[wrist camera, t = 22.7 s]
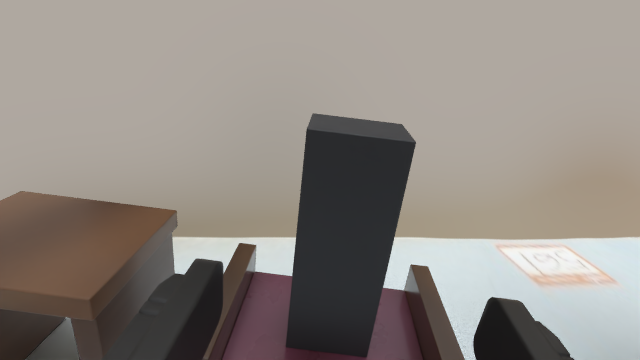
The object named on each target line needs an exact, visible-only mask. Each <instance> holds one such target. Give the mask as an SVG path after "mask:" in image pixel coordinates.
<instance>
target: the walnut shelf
mask: <svg viewBox="0 0 640 360" xmlns="http://www.w3.org/2000/svg"><path fill="white" fill-rule="evenodd" d="M176 227H177V211H175V210H168V209H160V208H152V207H144V206H136V205H128V204H120V203H112V202H104V201H97V200H89V199H81V198H73V197H64V196H57V195H49V194H41V193H33V192H25V191H20V192H18V193H16V194H14V195H12V196H10V197H7V198H5V199H3V200H1V201H0V360H24V359H25V358H26V357H27V356H28V355H29V354H30V353H31V352H32V351H33V350H34V349H35V348H36V347H37V346H38V345H39V344H40V343H41V342H42V341H43V340H44V339H45V338H46V337H47V336H48V335H49V334H50V333H51V332H52V331H53V330H54V329H55V328H56V327H57V326H58V325H59V324H60V323H61V322H62V321H63V320H64V319H65V317H67V318H71V323H72V327H73V332H74V336H75V340H76V345H77V349H78V354H79V358H80V360H102V358H103V357H104V356H105V354H106V353H107V352H108V350H109V349H110V348H111V346H112V345H113V344H114V343H115V341H116V340H117V339H118V337H119V336H120V335H121V333H122V332H123V331H124V329H125V328H126V327H127V325H128V324H129V323H130V322H131V320H132V319H133V318H134V316H135V315H136V314H137V313H139V310H140V308H141V307H142V306H143V304H144V303H145V302H146V301H148V298H149V297H150V295H151V294H152V293H153V291H154V290H155V289H156V287H157V286H158V285H159V284H160V283H162V282H163V281H165V280H166V279H167V278H169V277H170V276H172V275H173V274H175V272H174V257H173V242H172V232H173V230H175V229H176Z"/></svg>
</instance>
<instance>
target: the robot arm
mask: <svg viewBox="0 0 640 360" xmlns="http://www.w3.org/2000/svg"><path fill="white" fill-rule="evenodd" d="M222 308H223V263H222V262H221V261H213V260H206V259H195V260H194V262H193V263H192V265H191V266H190V268H189V269H188V270H187V272H186V273H185V275H182V274H173V275H172V276H170V277H169V278H167V279H166V280H165V281H163V282H162V283H160V284H159V285H158V286H157V287H156V289H155V290H154V291H153V293H152V294H151V295H150V297H149V298H148V301H146V302H145V303H144V304H143V306H142V307H141V308H140V310H139V313H137V314H136V315H135V316H134V318H133V319H132V320H131V322H130V323H129V324H128V325H127V327H126V328H125V329H124V331H123V332H122V333H121V335H120V336H119V337H118V339H117V340H116V341H115V343H114V344H113V345H112V346H111V348H110V349H109V350H108V352H107V353H106V354H105V356H104V357H103V358H102V360H203V357H204V355H205V353H206V350H207V348H208V346H209V344H210V341H211V339H212V337H213V335H214V332H215V330H216V328H217V325H218V323H219V320H220V317H221V313H222ZM473 346H474V353H475V357H476V360H574V359H573V358H571V357H570V354H569V352H568V351H567V349H566V348H565V347H564V345H563V344H562V343H561V341H560V340H559V339H558V337H557V336H555V335H554V334H553V333H552V332H551V331H550V330H548V329H547V328H546V327H545V326H544V325H543V324H541V323H540V322H539V321H535V320H534V318H533V317H532V316H531V314H530V313H529V311H528V310H527V309H526V307H525V306H524V304H523V303H522V302H520V301H518V300H510V299H502V298H495V297H492V298H490V299H489V300H488V302H487V304H486V306H485V309H484V312H483V314H482V317H481V319H480V322H479V325H478V327H477V330H476V332H475V335H474V341H473Z"/></svg>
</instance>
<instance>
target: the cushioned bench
mask: <svg viewBox="0 0 640 360" xmlns="http://www.w3.org/2000/svg"><path fill="white" fill-rule="evenodd" d="M255 263H256V245H252V244H244V243H239V245H238V247H237V249H236V251H235V253H234V255H233V257H232V259H231V261H230V263H229V265H228V266H227V268H226V270H225V272H224V274H223V308H222V313H221V317H220V320H219V323H218V325H217V328H216V330H215V332H214V335H213V337H212V339H211V341H210V344H209V346H208V348H207V350H206V353H205V355H204V357H203V360H465V359H464V357H463V354H462V352H461V349H460V347H459V344H458V342H457V339H456V337H455V334H454V331H453V329H452V326H451V324H450V321H449V319H448V316H447V314H446V311H445V309H444V306H443V304H442V301H441V299H440V296H439V294H438V291H437V288H436V286H435V283H434V281H433V278H432V276H431V273H430V271H429V268H428V267H427V266H419V265H411V266H410V269H409V273H408V277H407V281H406V285H405V289H404V291H403V290H396V289H388V288H383V289H382V294H381V298H380V302H379V307H378V311H377V316H376V320H375V324H374V329H373V333H372V337H371V342H370V346H369V351H368V355H367V357H359V356H351V355H343V354H335V353H327V352H320V351H312V350H304V349H296V348H288V347H286V337H287V327H288V316H289V306H290V296H291V286H292V276H285V275H277V274H270V273H262V272H255Z"/></svg>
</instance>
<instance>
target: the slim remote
mask: <svg viewBox="0 0 640 360" xmlns="http://www.w3.org/2000/svg"><path fill="white" fill-rule="evenodd" d="M415 144H416V142H415V140H414V139H413V138H412V137H411V135H410V134H409V133H408V131H407V130H406V129H405V128H404V126H403V125H402V124H395V123H387V122H379V121H370V120H362V119H354V118H346V117H338V116H329V115H321V114H312V117H311V120H310V122H309V125H308V127H307V132H306V142H305V152H304V163H303V174H302V184H301V194H300V203H299V214H298V224H297V234H296V245H295V255H294V265H293V275H292V286H291V296H290V306H289V316H288V327H287V337H286V347H288V348H296V349H304V350H312V351H320V352H327V353H335V354H343V355H351V356H359V357H367V355H368V351H369V346H370V342H371V337H372V333H373V329H374V324H375V320H376V316H377V311H378V307H379V302H380V298H381V294H382V289H383V285H384V280H385V276H386V272H387V267H388V263H389V259H390V254H391V250H392V245H393V241H394V237H395V232H396V228H397V223H398V219H399V215H400V210H401V206H402V201H403V197H404V192H405V188H406V184H407V180H408V175H409V171H410V166H411V162H412V157H413V153H414V149H415Z"/></svg>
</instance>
